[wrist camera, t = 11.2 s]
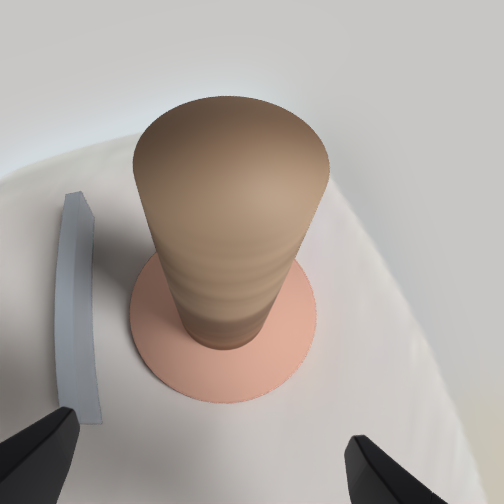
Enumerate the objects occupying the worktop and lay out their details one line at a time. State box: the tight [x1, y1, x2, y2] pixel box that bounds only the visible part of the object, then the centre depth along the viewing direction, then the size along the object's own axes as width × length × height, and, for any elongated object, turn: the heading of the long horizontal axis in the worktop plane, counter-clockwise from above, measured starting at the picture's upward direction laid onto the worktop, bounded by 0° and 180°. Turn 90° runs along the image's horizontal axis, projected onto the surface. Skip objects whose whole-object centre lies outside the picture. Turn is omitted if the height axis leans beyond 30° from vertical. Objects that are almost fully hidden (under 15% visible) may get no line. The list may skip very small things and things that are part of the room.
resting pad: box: [130, 252, 316, 403], centre depth 19 cm, size 11×11×1 cm
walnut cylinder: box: [133, 96, 330, 350], centre depth 13 cm, size 5×5×12 cm
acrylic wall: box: [54, 191, 102, 424], centre depth 16 cm, size 14×1×3 cm, turn 12°
